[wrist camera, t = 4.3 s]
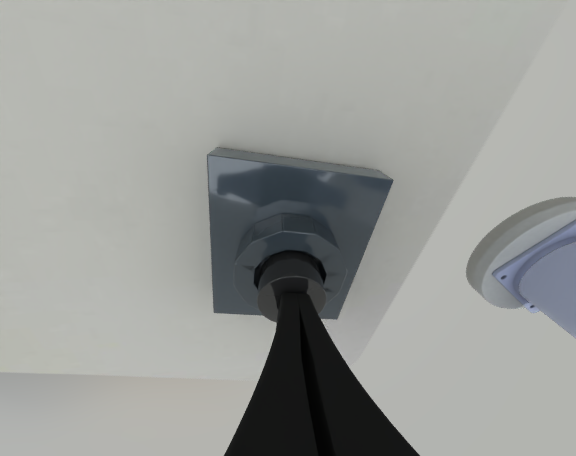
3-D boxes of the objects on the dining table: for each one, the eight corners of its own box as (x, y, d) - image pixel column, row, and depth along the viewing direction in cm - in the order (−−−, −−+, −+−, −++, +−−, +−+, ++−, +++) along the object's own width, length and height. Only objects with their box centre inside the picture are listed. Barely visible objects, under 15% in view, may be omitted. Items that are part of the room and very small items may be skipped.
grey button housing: (216, 147, 12) (193, 164, 9) (379, 170, 13) (414, 193, 10) (219, 293, 18) (206, 337, 15) (332, 300, 19) (343, 343, 16)
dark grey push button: (262, 247, 12) (259, 273, 10) (325, 253, 12) (334, 279, 10) (257, 294, 13) (254, 322, 12) (312, 297, 14) (318, 326, 12)
